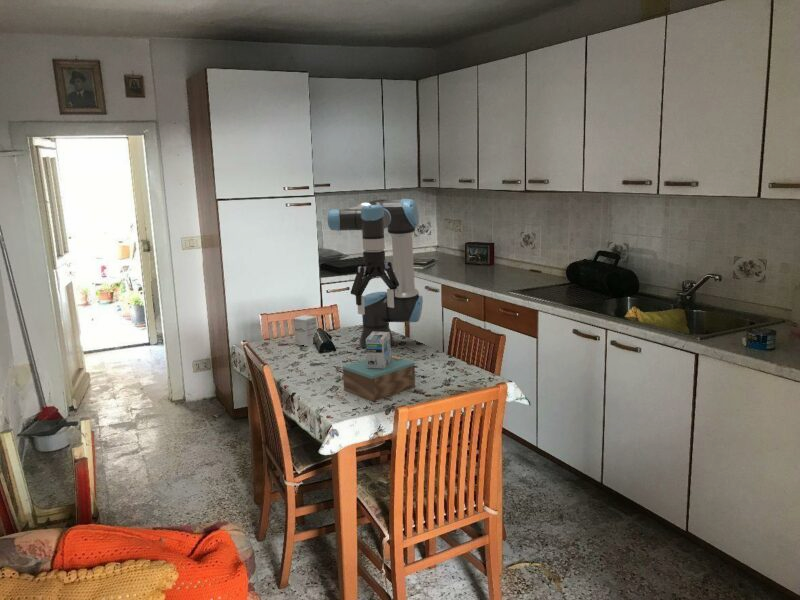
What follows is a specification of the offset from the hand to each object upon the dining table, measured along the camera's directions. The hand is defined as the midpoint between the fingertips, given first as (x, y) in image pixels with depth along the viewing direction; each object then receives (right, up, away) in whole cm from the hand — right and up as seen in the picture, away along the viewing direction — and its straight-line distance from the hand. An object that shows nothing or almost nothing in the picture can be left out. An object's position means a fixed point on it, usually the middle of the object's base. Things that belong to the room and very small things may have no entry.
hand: (376, 310), depth 227 cm
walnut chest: (+1, -28, +6) cm, 29 cm away
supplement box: (-34, -16, +66) cm, 76 cm away
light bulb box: (+1, -19, +4) cm, 20 cm away
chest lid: (+1, -20, +4) cm, 21 cm away
